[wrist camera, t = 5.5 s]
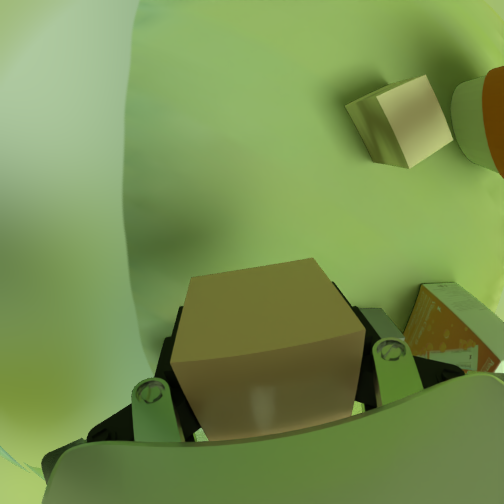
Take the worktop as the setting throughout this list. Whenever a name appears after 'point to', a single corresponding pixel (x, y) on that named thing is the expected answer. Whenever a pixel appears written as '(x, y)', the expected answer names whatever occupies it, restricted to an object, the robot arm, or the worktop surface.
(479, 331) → the small box
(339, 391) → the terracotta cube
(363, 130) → the pale oak cube
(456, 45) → the worktop surface
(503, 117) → the reusable coffee cup
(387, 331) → the slate grey cube
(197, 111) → the worktop surface
